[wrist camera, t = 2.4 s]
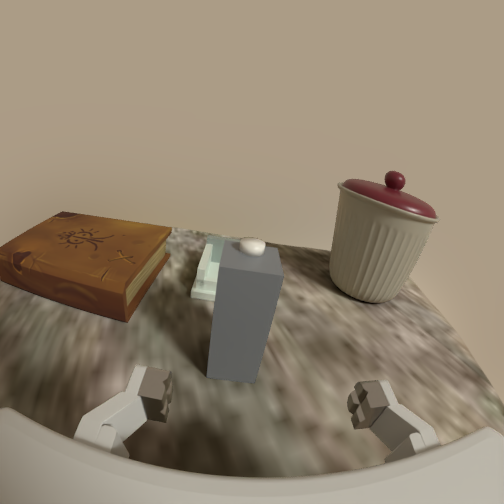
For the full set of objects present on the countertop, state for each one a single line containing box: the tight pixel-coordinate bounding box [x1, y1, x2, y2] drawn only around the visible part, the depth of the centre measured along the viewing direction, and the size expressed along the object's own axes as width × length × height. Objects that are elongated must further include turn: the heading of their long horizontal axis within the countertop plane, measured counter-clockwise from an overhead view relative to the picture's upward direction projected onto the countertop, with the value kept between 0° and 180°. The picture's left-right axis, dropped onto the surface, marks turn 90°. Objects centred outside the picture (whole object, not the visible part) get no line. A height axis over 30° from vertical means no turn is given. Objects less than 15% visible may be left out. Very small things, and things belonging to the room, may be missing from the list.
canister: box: [329, 171, 440, 303], centre depth 42 cm, size 18×18×21 cm
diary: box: [0, 212, 172, 323], centre depth 35 cm, size 23×19×6 cm
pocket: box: [191, 235, 241, 301], centre depth 40 cm, size 10×11×5 cm
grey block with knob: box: [207, 237, 284, 383], centre depth 24 cm, size 5×5×13 cm
